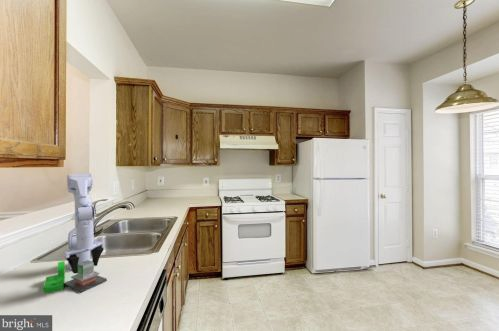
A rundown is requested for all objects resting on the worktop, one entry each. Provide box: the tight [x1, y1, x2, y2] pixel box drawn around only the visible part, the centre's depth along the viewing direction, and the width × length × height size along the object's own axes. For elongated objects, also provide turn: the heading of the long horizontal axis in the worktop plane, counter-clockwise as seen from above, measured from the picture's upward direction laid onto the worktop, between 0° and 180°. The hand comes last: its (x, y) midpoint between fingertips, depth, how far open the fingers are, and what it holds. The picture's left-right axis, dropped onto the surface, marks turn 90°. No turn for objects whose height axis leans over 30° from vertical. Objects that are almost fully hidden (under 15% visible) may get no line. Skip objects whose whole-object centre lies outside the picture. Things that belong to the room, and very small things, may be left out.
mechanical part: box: [43, 260, 66, 294], centre depth 95 cm, size 12×6×8 cm, turn 35°
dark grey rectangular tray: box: [64, 270, 108, 294], centre depth 97 cm, size 12×10×4 cm
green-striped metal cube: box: [77, 260, 95, 278], centre depth 97 cm, size 4×4×5 cm
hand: (85, 269), depth 97 cm, fingers open, 7 cm apart
